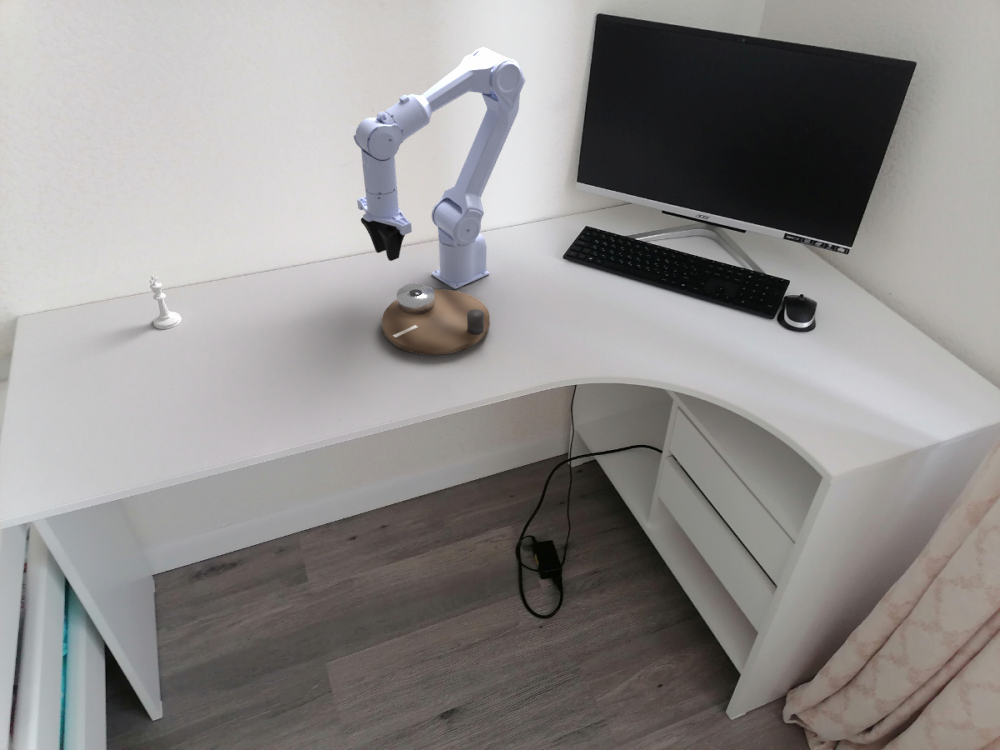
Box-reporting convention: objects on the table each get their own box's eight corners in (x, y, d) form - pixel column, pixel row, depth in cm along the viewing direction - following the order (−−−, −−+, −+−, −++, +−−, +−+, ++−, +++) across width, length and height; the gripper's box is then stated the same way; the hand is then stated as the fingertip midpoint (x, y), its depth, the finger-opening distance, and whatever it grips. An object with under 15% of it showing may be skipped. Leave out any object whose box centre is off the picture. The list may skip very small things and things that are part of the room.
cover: (420, 290, 143) (419, 279, 142) (442, 305, 139) (441, 293, 138) (390, 303, 139) (389, 291, 138) (412, 318, 135) (411, 306, 134)
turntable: (444, 283, 148) (443, 263, 145) (511, 325, 136) (512, 304, 133) (361, 319, 137) (358, 298, 134) (426, 368, 125) (425, 346, 123)
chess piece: (147, 325, 137) (131, 279, 131) (166, 312, 140) (151, 266, 134) (168, 331, 135) (153, 285, 129) (187, 317, 139) (173, 272, 133)
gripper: (340, 181, 133) (348, 247, 142) (386, 207, 125) (392, 276, 133) (372, 171, 137) (379, 236, 146) (419, 196, 129) (423, 263, 137)
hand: (387, 254), depth 140 cm, fingers open, 3 cm apart
